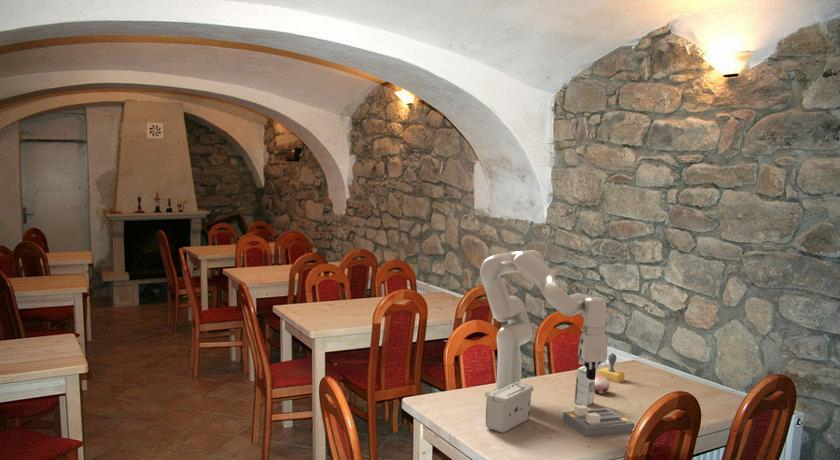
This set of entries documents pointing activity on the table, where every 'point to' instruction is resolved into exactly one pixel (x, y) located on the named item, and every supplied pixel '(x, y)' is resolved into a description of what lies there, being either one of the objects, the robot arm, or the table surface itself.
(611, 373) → the rubber stamp
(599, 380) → the apple
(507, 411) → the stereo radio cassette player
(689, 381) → the table surface
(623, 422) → the switch panel
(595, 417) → the front tab
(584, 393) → the syrup box
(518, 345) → the robot arm
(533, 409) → the table surface
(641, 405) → the table surface
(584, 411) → the back tab
